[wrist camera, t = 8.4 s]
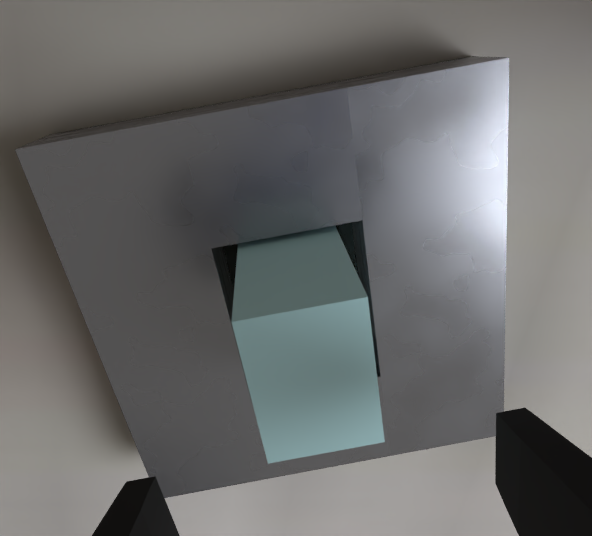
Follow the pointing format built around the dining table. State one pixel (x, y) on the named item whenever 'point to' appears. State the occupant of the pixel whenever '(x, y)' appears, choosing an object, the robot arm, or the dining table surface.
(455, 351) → the port plate
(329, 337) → the plug
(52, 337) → the dining table surface
